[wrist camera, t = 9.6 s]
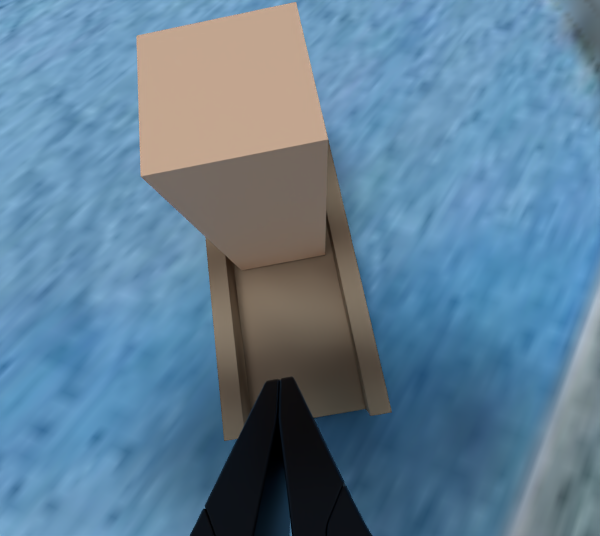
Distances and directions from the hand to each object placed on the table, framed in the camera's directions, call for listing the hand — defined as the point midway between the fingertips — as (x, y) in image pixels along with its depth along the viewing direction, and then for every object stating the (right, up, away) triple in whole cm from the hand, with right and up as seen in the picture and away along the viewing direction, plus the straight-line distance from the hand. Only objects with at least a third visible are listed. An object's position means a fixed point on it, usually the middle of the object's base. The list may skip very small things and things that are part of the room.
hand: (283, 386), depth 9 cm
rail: (0, +4, +10) cm, 10 cm away
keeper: (-1, +6, +9) cm, 11 cm away
